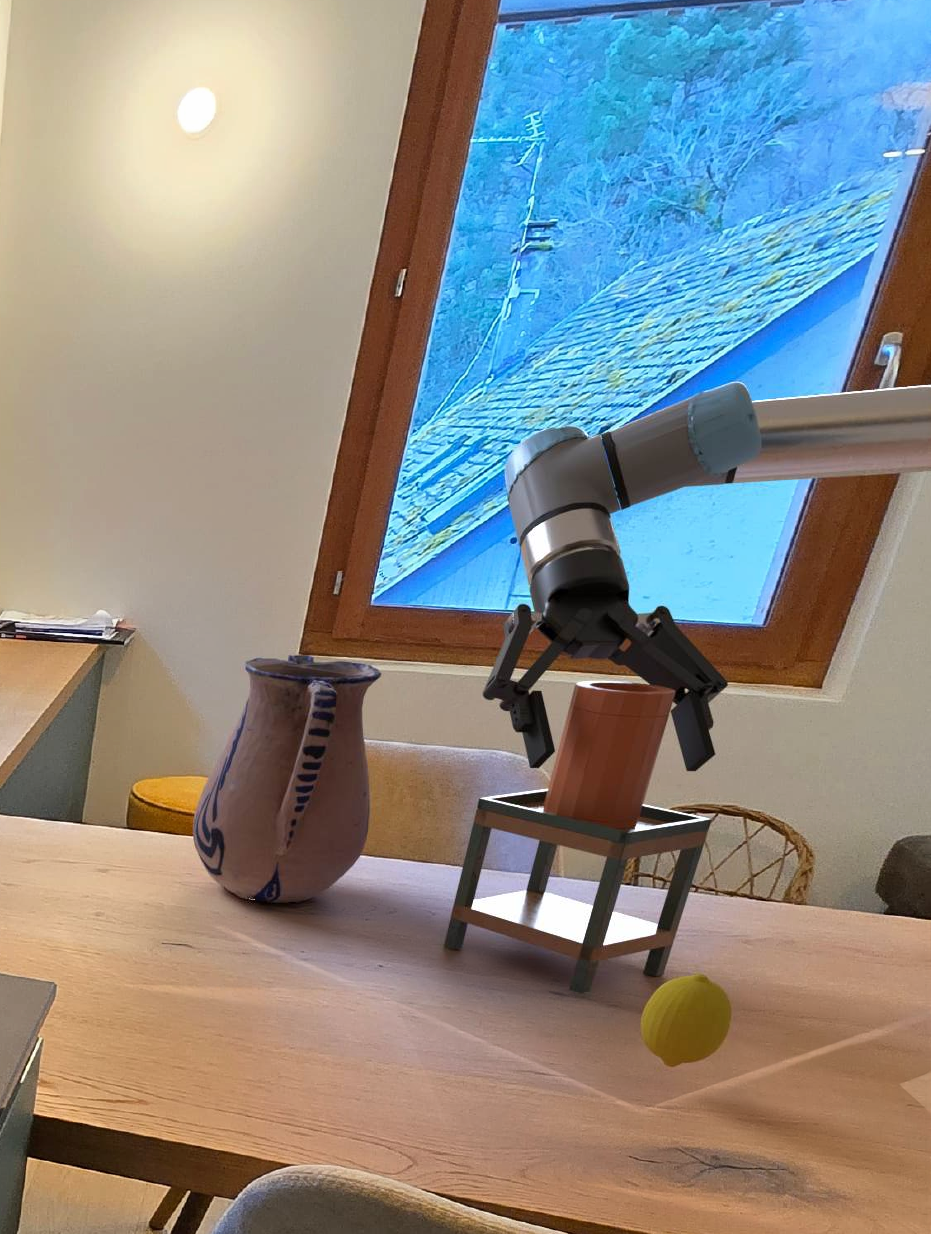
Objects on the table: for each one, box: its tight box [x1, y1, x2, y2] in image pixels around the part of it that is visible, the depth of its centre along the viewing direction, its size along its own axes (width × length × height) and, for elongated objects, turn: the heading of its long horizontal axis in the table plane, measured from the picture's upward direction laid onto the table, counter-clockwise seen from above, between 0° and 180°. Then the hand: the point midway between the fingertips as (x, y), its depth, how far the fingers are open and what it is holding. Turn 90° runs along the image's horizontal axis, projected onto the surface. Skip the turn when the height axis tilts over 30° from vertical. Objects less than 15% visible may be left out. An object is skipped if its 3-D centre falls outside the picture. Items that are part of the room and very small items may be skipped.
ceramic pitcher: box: [192, 654, 382, 904], centre depth 140 cm, size 18×21×25 cm
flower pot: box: [543, 680, 676, 829], centre depth 119 cm, size 7×7×12 cm
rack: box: [443, 788, 713, 995], centre depth 124 cm, size 14×12×15 cm
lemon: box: [640, 972, 732, 1068], centre depth 103 cm, size 6×6×8 cm
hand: (621, 761), depth 117 cm, fingers open, 13 cm apart
